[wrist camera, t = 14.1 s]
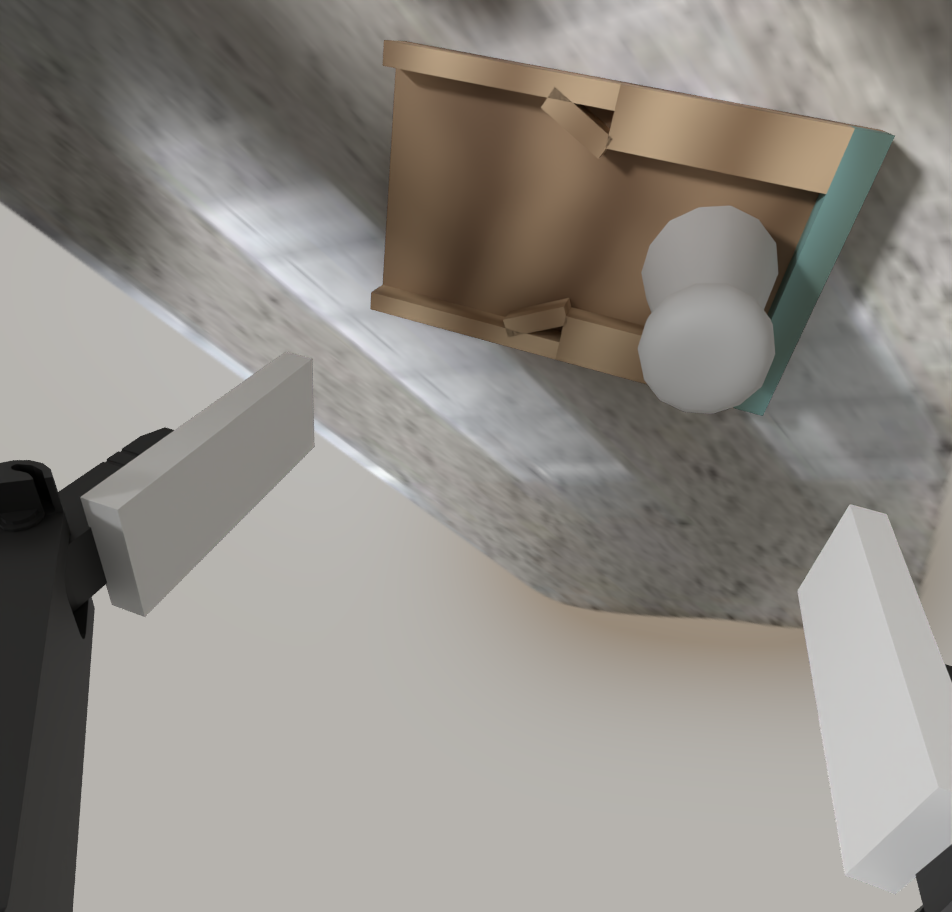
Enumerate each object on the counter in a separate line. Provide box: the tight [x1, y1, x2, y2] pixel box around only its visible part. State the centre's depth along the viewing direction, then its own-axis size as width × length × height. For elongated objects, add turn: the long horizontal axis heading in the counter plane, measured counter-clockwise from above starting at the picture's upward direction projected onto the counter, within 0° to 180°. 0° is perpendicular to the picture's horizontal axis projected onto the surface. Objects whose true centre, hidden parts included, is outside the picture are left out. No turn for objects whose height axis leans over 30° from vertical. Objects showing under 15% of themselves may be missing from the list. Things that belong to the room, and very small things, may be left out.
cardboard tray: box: [371, 40, 895, 416], centre depth 31 cm, size 22×13×2 cm, turn 81°
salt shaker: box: [638, 206, 778, 414], centre depth 25 cm, size 6×6×13 cm
